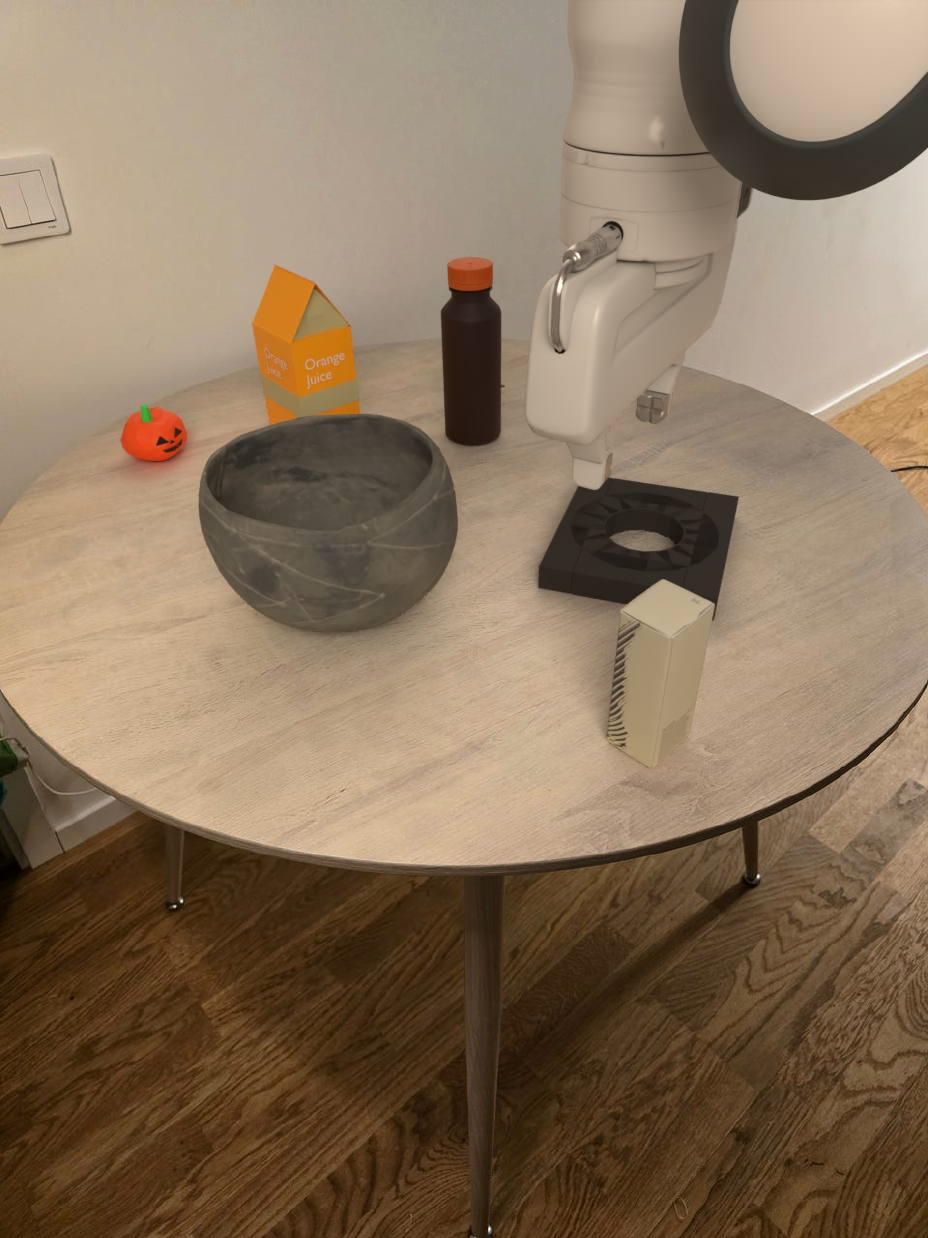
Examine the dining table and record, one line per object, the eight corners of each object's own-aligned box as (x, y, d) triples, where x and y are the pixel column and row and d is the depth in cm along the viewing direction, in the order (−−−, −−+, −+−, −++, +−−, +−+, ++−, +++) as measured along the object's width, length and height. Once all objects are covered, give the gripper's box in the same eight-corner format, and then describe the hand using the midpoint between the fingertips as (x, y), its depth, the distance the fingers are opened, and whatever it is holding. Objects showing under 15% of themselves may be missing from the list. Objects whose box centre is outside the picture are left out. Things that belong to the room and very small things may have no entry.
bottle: (511, 437, 104) (513, 265, 92) (463, 452, 101) (459, 276, 89) (482, 416, 109) (480, 250, 96) (435, 430, 106) (427, 260, 94)
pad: (734, 517, 89) (739, 496, 87) (713, 621, 76) (718, 598, 74) (582, 493, 93) (584, 473, 92) (537, 588, 80) (538, 566, 79)
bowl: (188, 596, 80) (148, 450, 71) (379, 519, 90) (365, 382, 81) (297, 722, 67) (265, 563, 58) (507, 615, 77) (508, 465, 68)
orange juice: (308, 467, 99) (281, 290, 87) (271, 441, 105) (240, 270, 92) (365, 447, 103) (347, 274, 91) (326, 422, 108) (304, 256, 96)
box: (644, 707, 67) (664, 573, 59) (692, 736, 65) (719, 600, 57) (601, 743, 65) (616, 607, 57) (650, 774, 62) (673, 637, 54)
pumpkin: (196, 438, 106) (184, 388, 102) (181, 470, 100) (168, 418, 96) (137, 440, 106) (123, 390, 102) (119, 472, 99) (103, 420, 95)
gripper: (625, 265, 36) (601, 545, 44) (765, 169, 49) (726, 397, 58) (492, 247, 38) (494, 514, 47) (660, 160, 52) (637, 379, 61)
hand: (623, 448), depth 53 cm, fingers open, 8 cm apart
